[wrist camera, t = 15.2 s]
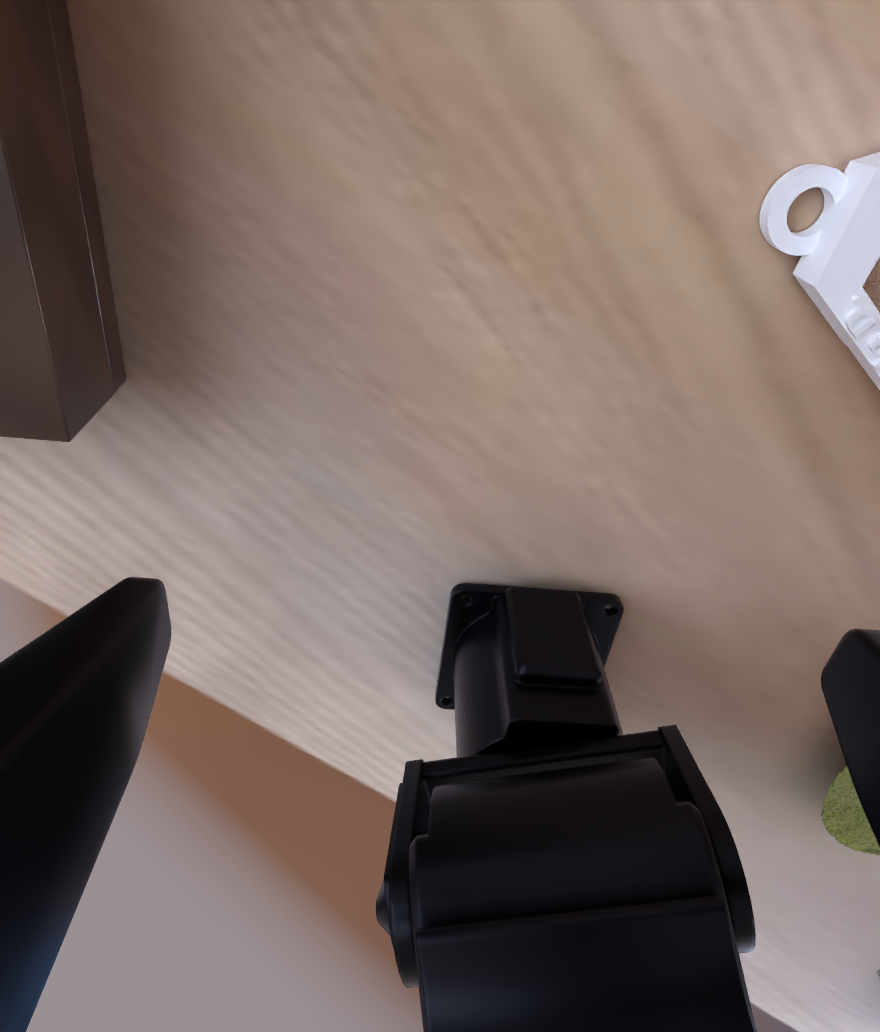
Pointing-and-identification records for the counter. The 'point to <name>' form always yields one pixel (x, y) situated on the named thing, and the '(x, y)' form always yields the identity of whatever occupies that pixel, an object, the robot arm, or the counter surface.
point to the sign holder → (49, 237)
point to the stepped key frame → (835, 248)
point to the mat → (847, 816)
